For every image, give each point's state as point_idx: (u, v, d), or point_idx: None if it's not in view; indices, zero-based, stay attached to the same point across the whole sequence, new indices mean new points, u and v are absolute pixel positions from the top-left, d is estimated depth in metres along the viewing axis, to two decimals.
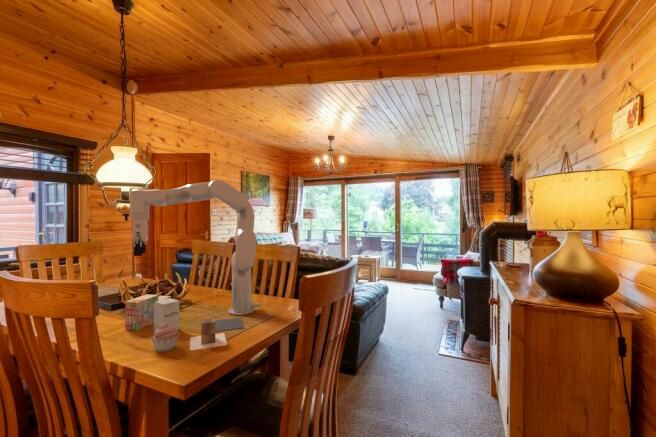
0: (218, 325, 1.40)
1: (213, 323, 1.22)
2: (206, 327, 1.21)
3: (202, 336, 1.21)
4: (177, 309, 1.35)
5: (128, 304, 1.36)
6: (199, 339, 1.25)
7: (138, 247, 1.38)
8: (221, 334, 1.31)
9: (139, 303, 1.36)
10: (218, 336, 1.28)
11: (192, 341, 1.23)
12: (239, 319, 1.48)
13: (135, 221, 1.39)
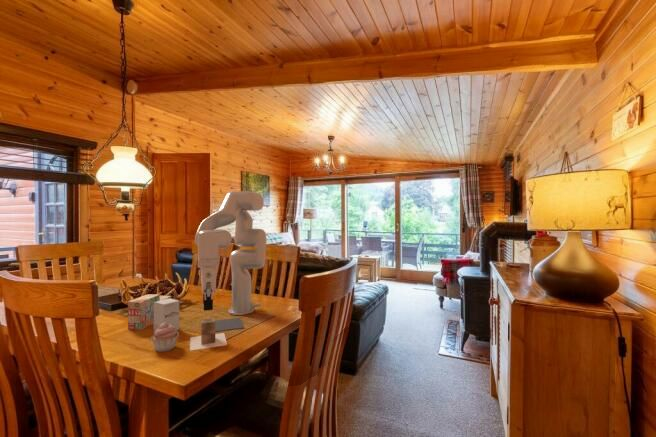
0: (218, 325, 1.40)
1: (213, 323, 1.22)
2: (206, 327, 1.21)
3: (202, 336, 1.21)
4: (177, 309, 1.35)
5: (131, 304, 1.36)
6: (199, 339, 1.25)
7: (209, 300, 1.18)
8: (221, 334, 1.31)
9: (142, 303, 1.36)
10: (218, 336, 1.28)
11: (192, 341, 1.23)
12: (239, 319, 1.48)
13: (205, 269, 1.19)
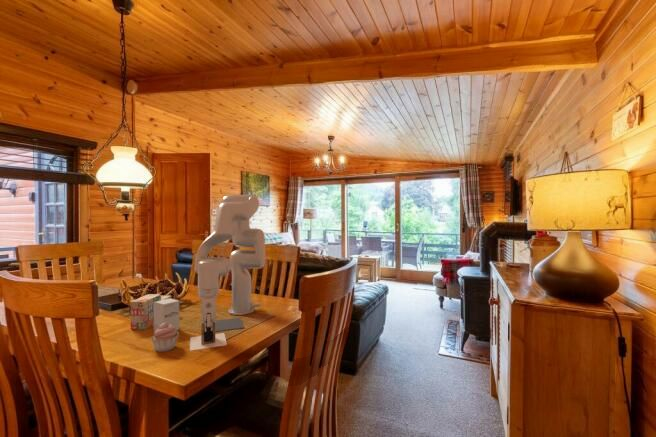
0: (218, 325, 1.40)
1: (213, 323, 1.22)
2: None
3: (202, 336, 1.21)
4: (177, 309, 1.35)
5: (134, 304, 1.36)
6: (199, 339, 1.25)
7: (209, 332, 1.20)
8: (221, 334, 1.31)
9: (145, 302, 1.37)
10: (218, 336, 1.28)
11: (192, 341, 1.23)
12: (239, 319, 1.48)
13: (205, 300, 1.19)
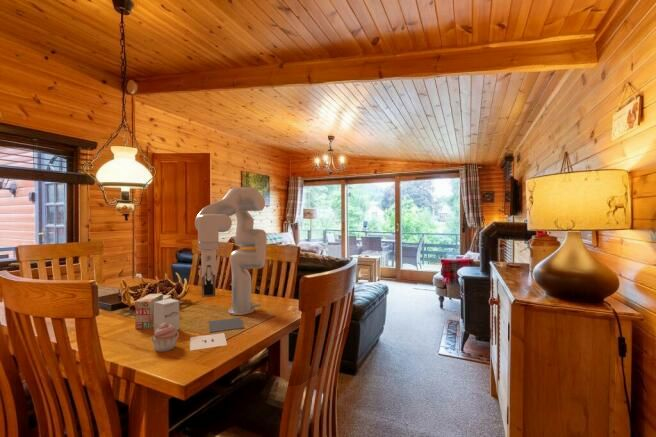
0: (218, 325, 1.40)
1: (213, 277, 1.22)
2: None
3: (202, 289, 1.20)
4: (177, 309, 1.35)
5: (139, 303, 1.37)
6: (199, 339, 1.25)
7: (209, 285, 1.20)
8: (221, 334, 1.31)
9: (151, 302, 1.38)
10: (218, 336, 1.28)
11: (192, 341, 1.23)
12: (239, 319, 1.48)
13: (205, 252, 1.19)
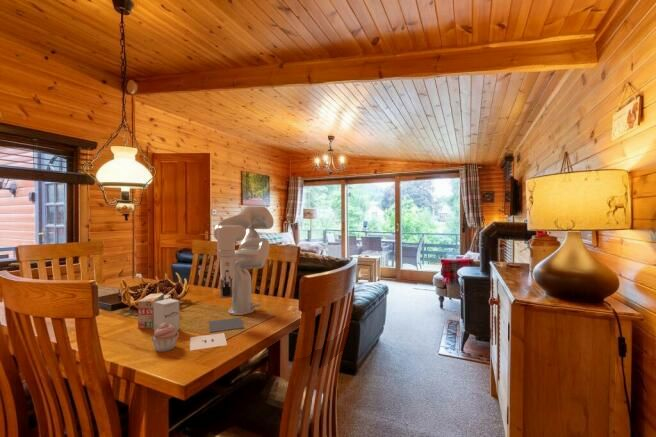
0: (218, 325, 1.40)
1: (230, 280, 1.39)
2: None
3: (221, 291, 1.38)
4: (177, 309, 1.35)
5: (141, 303, 1.37)
6: (199, 339, 1.25)
7: (227, 287, 1.38)
8: (221, 334, 1.31)
9: (154, 301, 1.39)
10: (218, 336, 1.28)
11: (192, 341, 1.23)
12: (239, 319, 1.48)
13: (224, 259, 1.37)
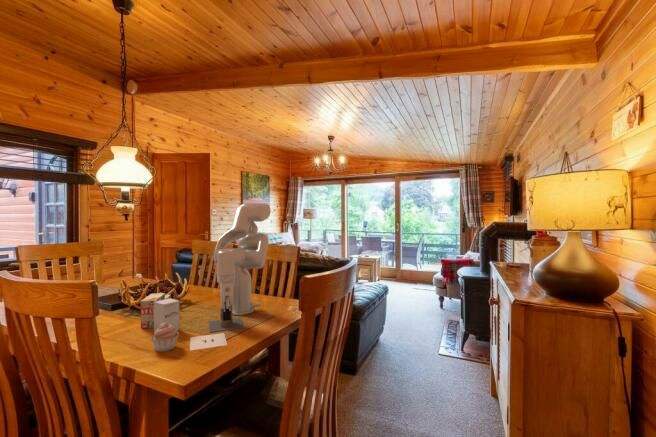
0: (218, 325, 1.40)
1: (230, 308, 1.40)
2: None
3: (221, 319, 1.38)
4: (177, 309, 1.35)
5: (144, 303, 1.38)
6: (199, 339, 1.25)
7: (227, 312, 1.37)
8: (221, 334, 1.31)
9: (156, 301, 1.39)
10: (218, 336, 1.28)
11: (192, 341, 1.23)
12: (239, 319, 1.48)
13: (224, 284, 1.37)
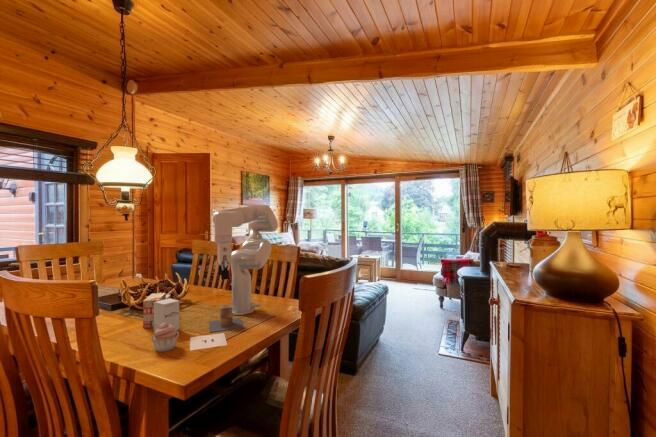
0: (218, 325, 1.40)
1: (230, 308, 1.40)
2: (224, 312, 1.39)
3: (221, 319, 1.38)
4: (177, 309, 1.35)
5: (147, 303, 1.38)
6: (199, 339, 1.25)
7: (226, 271, 1.38)
8: (221, 334, 1.31)
9: (159, 300, 1.40)
10: (218, 336, 1.28)
11: (192, 341, 1.23)
12: (239, 319, 1.48)
13: (222, 244, 1.38)
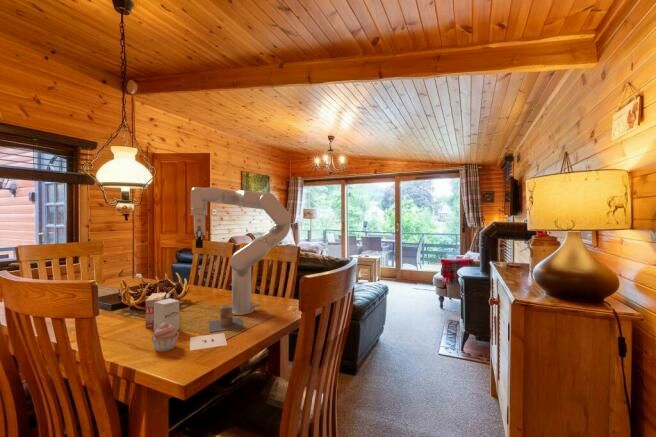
0: (218, 325, 1.40)
1: (230, 308, 1.40)
2: (224, 312, 1.39)
3: (221, 319, 1.38)
4: (177, 309, 1.35)
5: (149, 302, 1.38)
6: (199, 339, 1.25)
7: (199, 240, 1.52)
8: (221, 334, 1.31)
9: None
10: (218, 336, 1.28)
11: (192, 341, 1.23)
12: (239, 319, 1.48)
13: (196, 216, 1.52)
